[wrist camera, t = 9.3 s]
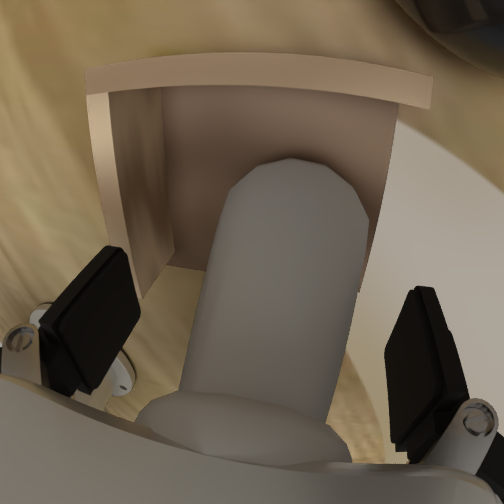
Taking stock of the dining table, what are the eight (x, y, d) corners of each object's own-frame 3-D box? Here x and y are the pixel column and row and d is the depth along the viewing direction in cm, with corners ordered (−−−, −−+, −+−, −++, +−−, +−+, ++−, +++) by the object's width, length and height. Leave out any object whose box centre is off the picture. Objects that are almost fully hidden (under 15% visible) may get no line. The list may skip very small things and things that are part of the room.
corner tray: (358, 280, 17) (362, 350, 13) (167, 254, 19) (128, 311, 15) (396, 71, 11) (433, 77, 7) (151, 60, 13) (84, 68, 9)
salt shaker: (377, 162, 12) (472, 530, 2) (343, 270, 16) (326, 559, 5) (242, 133, 13) (-4, 423, 2) (229, 245, 16) (108, 507, 6)
